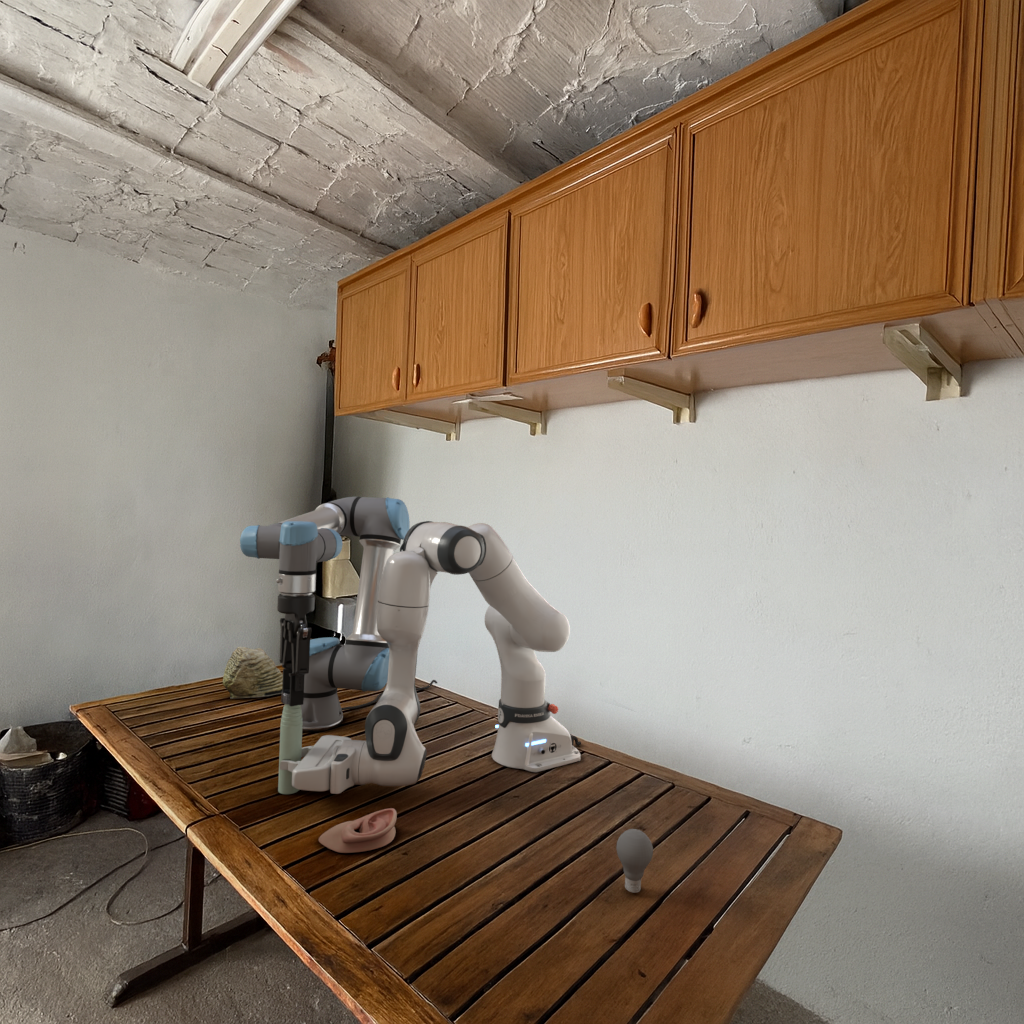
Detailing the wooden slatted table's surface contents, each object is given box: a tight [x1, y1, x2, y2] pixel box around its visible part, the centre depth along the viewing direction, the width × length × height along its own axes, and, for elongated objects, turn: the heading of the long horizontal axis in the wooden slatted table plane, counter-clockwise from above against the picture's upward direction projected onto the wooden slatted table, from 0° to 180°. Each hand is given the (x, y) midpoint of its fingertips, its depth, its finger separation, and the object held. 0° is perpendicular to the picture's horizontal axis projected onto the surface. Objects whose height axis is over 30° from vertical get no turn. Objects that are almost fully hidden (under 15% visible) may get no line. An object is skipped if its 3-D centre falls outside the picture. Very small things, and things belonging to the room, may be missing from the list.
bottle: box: [277, 704, 303, 795], centre depth 136 cm, size 4×4×21 cm
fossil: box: [222, 646, 283, 699], centre depth 198 cm, size 9×18×15 cm, turn 132°
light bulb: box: [615, 828, 654, 894], centre depth 106 cm, size 6×6×10 cm
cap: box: [280, 688, 304, 705], centre depth 136 cm, size 4×5×2 cm
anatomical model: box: [318, 807, 398, 854], centre depth 118 cm, size 13×4×12 cm
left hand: (292, 701), depth 136 cm, fingers closed on cap, 4 cm apart
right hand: (286, 758), depth 136 cm, fingers closed on bottle, 4 cm apart
